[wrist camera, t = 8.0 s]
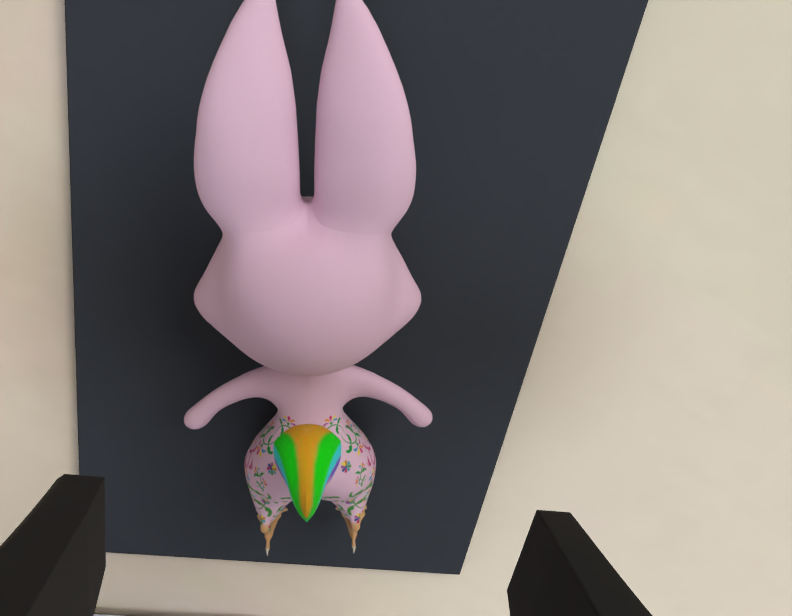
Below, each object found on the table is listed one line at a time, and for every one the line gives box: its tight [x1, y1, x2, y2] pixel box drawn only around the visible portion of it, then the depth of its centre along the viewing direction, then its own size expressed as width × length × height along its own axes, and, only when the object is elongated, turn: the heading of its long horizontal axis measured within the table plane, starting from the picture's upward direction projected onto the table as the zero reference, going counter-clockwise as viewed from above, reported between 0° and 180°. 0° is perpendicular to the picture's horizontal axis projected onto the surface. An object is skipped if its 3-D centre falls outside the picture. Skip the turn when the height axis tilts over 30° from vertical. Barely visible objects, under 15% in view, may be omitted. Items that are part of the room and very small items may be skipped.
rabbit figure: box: [184, 0, 432, 555], centre depth 17 cm, size 6×6×15 cm
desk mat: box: [65, 0, 648, 574], centre depth 19 cm, size 20×12×1 cm, turn 170°
